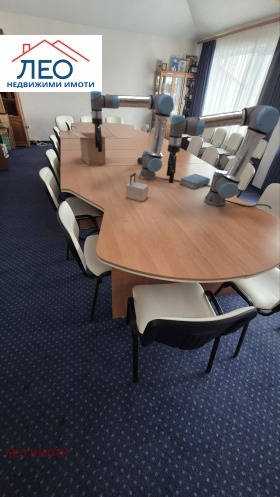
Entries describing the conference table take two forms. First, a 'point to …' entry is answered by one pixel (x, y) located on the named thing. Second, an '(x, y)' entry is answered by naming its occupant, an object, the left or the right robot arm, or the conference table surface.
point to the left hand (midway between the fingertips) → (98, 149)
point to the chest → (136, 193)
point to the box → (91, 147)
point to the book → (194, 181)
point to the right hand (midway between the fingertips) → (169, 179)
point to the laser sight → (140, 160)
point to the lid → (136, 183)
